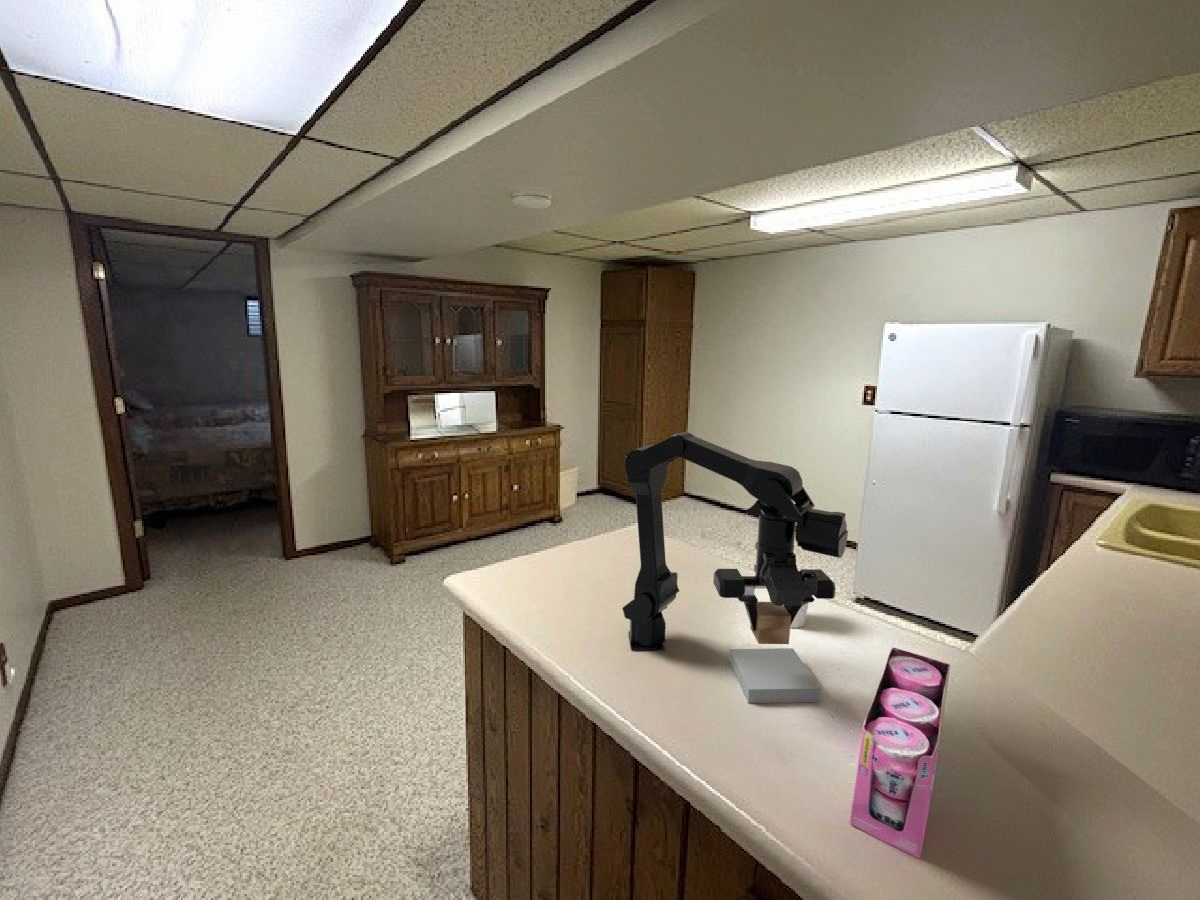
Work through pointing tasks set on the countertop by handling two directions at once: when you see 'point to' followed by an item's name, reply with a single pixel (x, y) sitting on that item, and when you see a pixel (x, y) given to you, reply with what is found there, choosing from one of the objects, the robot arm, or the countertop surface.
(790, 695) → the slate tile
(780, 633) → the walnut cube
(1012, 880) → the countertop surface
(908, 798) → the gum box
